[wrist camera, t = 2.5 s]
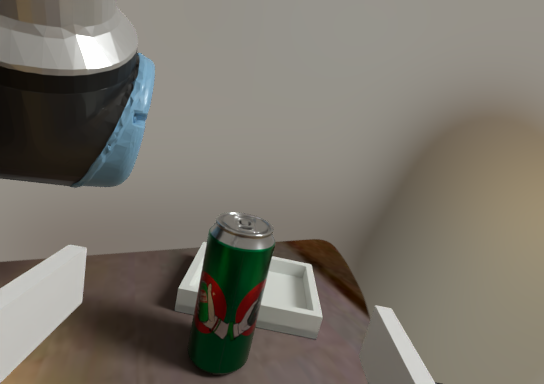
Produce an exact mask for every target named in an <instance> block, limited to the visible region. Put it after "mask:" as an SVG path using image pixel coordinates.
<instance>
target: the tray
mask: <svg viewBox="0 0 544 384" xmlns="http://www.w3.org/2000/svg"><path fill="white" fill-rule="evenodd" d="M206 244H207V243H206V242H203V244H202V246H201V247H200V249H199V251H198V253H197V255H196V257H195V258H194V260H193V262H192V264H191V266H190V268H189V269H188V271H187V273H186V275H185V277H184V279H183V280H182V282H181V284H180V286H179V288H178V293H177V299H176V305H175V311H177V312H182V313H187V314H192V315H194V310H195V305H196V299H197V294H198V288H199V283H200V277H201V272H202V266H203V261H204V255H205V250H206ZM322 318H323V317H322V312H321V307H320V302H319V298H318V293H317V288H316V284H315V279H314V274H313V270H312V265H311V264H306V263H302V262H297V261H292V260H287V259H283V258H278V257H273V256H272V259H271V264H270V268H269V272H268V276H267V280H266V284H265V289H264V293H263V297H262V301H261V305H260V310H259V314H258V318H257V322H256V326H255V327H257V328H262V329H267V330H272V331H277V332H282V333H287V334H292V335H297V336H302V337H307V338H312V339H316V338H317V335H318V332H319V328H320V325H321V322H322Z"/></svg>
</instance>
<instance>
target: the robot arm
mask: <svg viewBox="0 0 544 384" xmlns="http://www.w3.org/2000/svg"><path fill="white" fill-rule="evenodd" d="M137 48H138V36H137V33H136V30H135V28H134V26H133V25H132V23H131V22H130V21H129V20H128V18H127V17H126V16H125V15H124V14H123V13H122V11H121V10H120V9H119V8H118V7H117V0H0V178H2V179H10V180H19V181H28V182H38V183H46V184H55V185H64V186H70V187H75V188H76V187H80V186H95V187H97V186H98V187H113V186H117V185H119V184H121V183H123V182H124V181H125V180H126V179H127V178H128V177H129V175H130V173H131V171H132V169H133V167H134V164H135V161H136V159H137V156H138V152H139V149H140V145H141V142H142V138H143V134H144V130H145V120H146V119H147V114H148V111H149V107H150V104H151V98H152V93H153V86H154V78H155V66H154V63H153V62H152V60H150V59H149V58H146V57H145V56H144V55H141V53H137ZM86 252H87V248H85V247H81V246H75V245H68V246H66V247H64V248H63V249H62V250H60V251H58V252H57V253H55V254H54V255H52V256H51V257H49V258H47V259H46V260H44V261H43V262H41V263H39V264H38V265H36V266H35V267H33V268H32V269H30V270H29V271H27V272H25V273H24V274H22V275H21V276H19V277H18V278H16V279H14V280H13V281H11V282H10V283H8V284H7V285H5V286H3V287H2V288H0V383H1V382H2V381H3V380H4V379H5V378H6V377H7V376H8V375H9V374H10V373H11V372H12V371H13V370H14V369H15V368H16V367H17V366H18V365H19V364H20V363H21V362H22V361H23V360H24V359H25V358H26V357H27V356H28V355H29V354H30V353H31V352H32V351H33V350H34V349H35V348H36V347H37V346H38V345H39V344H40V343H41V342H42V341H43V340H44V339H45V338H46V337H47V336H48V335H49V334H51V333H52V332H53V331H54V330H55V329H56V328H57V327H58V326H59V325H60V324H61V323H62V322H63V321H64V320H65V319H66V318H67V317H68V316H69V315H70V314H71V313H72V312H73V311H74V310H75V309H76V308H77V307H78V306H79V305H80V304H81V303H82V298H83V287H84V275H85V264H86ZM359 358H360V361H361V364H362V367H363V370H364V373H365V376H366V379H367V382H368V384H441V383H436V382H434V380H433V379H432V377H431V375H430V374H429V372H428V370H427V369H426V367H425V365H424V364H423V362H422V360H421V358H420V356H419V355H418V353H417V351H416V350H415V348H414V347H413V345H412V343H411V341H410V340H409V338H408V336H407V334H406V333H405V331H404V329H403V327H402V326H401V324H400V323H399V321H398V319H397V317H396V316H395V314H394V312H393V311H392V309H391V308H386V307H381V306H376V305H375V307H374V311H373V314H372V317H371V320H370V323H369V326H368V329H367V332H366V335H365V338H364V342H363V345H362V348H361V351H360V354H359Z"/></svg>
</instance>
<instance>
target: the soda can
mask: <svg viewBox="0 0 544 384" xmlns="http://www.w3.org/2000/svg"><path fill="white" fill-rule="evenodd" d="M272 233H273V226H272V225H271V224H270V223H269V222H267V221H266V220H264V219H262V218H259V217H257V216H254V215H250V214H245V213H237V212H229V213H223V214H220V215H219V216H218V217H217V219H216V223H215V224H214V225H213V226H212V227H211V228H210V230H209V234H208V239H207V244H206V250H205V255H204V261H203V266H202V272H201V277H200V283H199V288H198V294H197V299H196V305H195V310H194V315H193V321H192V326H191V332H190V337H189V343H188V354H189V357H190V358H191V360H192V361H193V363H194V364H195V365H196V366H197V367H198V368H200V369H201V370H203V371H204V372H207V373H210V374H214V375H225V374H229V373H232V372H234V371H236V370H238V369H239V368H241V367H242V366H243V365H244V364H245V363H246V361H247V359H248V355H249V351H250V347H251V343H252V339H253V335H254V330H255V326H256V322H257V318H258V314H259V310H260V305H261V301H262V297H263V293H264V289H265V284H266V280H267V276H268V272H269V268H270V264H271V259H272V255H273V251H274V247H275V240H274V237H273V234H272Z"/></svg>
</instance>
